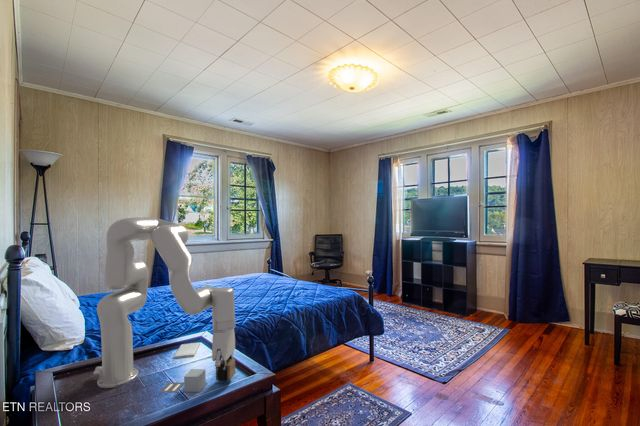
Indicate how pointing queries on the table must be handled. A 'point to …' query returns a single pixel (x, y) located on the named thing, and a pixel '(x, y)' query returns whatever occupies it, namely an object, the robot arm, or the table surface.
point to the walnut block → (228, 368)
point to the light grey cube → (194, 380)
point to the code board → (176, 388)
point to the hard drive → (187, 350)
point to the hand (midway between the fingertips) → (225, 375)
